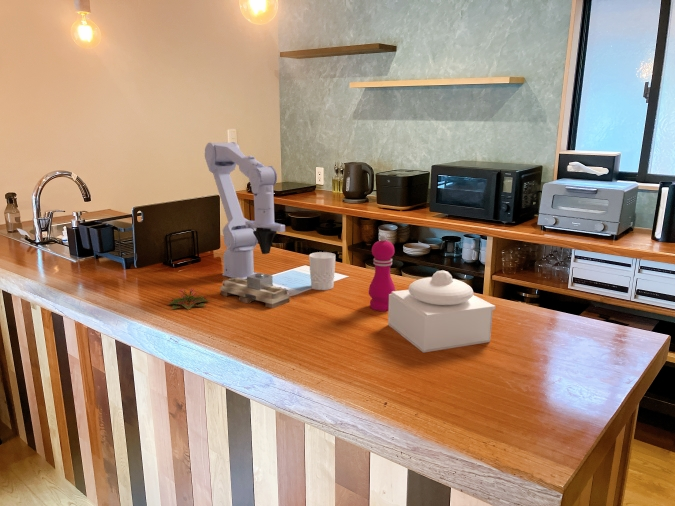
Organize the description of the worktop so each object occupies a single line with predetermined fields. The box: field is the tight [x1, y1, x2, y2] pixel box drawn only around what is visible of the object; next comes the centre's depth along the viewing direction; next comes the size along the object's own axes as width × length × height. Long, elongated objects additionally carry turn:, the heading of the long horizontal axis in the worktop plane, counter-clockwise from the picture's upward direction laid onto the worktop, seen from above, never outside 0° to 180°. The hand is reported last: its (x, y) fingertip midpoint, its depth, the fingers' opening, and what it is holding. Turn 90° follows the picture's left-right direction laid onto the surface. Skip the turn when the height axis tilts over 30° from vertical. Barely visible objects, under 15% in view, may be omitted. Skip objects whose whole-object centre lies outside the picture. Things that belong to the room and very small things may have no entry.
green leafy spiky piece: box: [166, 287, 209, 311], centre depth 146 cm, size 12×12×5 cm
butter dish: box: [387, 269, 496, 353], centre depth 125 cm, size 18×18×16 cm
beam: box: [220, 277, 290, 309], centre depth 151 cm, size 20×9×4 cm, turn 54°
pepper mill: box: [368, 234, 396, 312], centre depth 142 cm, size 7×7×20 cm
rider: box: [246, 272, 274, 291], centre depth 149 cm, size 5×5×5 cm
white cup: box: [308, 251, 336, 291], centre depth 161 cm, size 8×8×10 cm
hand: (265, 253), depth 160 cm, fingers closed
